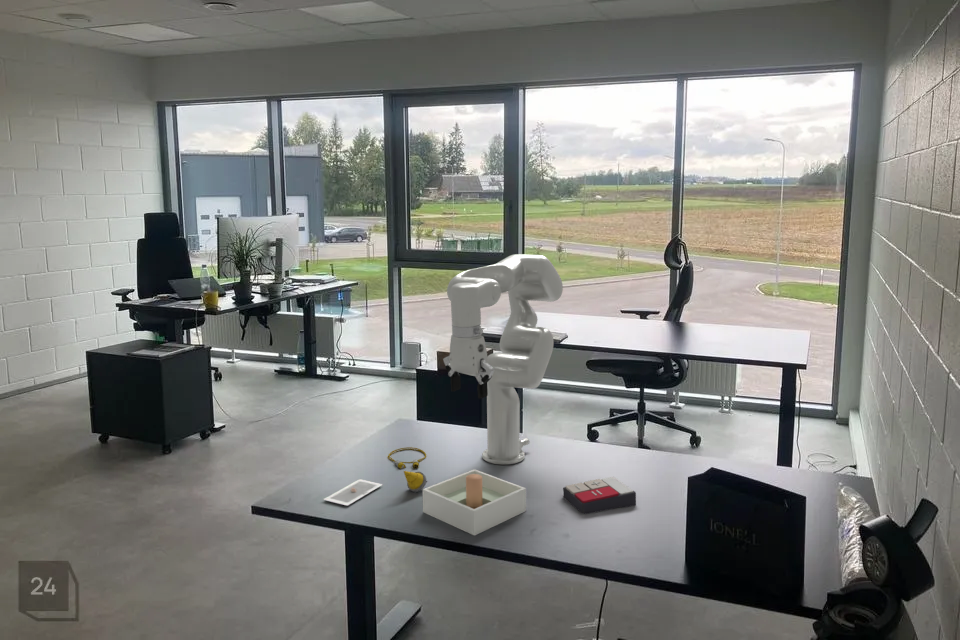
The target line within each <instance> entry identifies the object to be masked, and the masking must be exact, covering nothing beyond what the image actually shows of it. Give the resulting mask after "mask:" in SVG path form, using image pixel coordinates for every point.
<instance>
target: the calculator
mask: <svg viewBox="0 0 960 640" xmlns="http://www.w3.org/2000/svg"><path fill="white" fill-rule="evenodd" d="M562 491H563V492H562V493H563V495H562V496H563V498H564V500H566V501H567V503H569V504H570V505H571V506H572V507H574V508H575V509H576V510H577V511H578V512H579V513H580V514H581V515H587V514H593V513H598V512H605V511H609V510H613V509H617V508H621V509H624V508H628V507H633V506H636V505H637V493H636V491H634V490H633V489H632V488H631V487H629V486H628V485H626V484H625V483H624V482H622V481H621V480H619V479H618V478H616V477H615V476H609V477H605V478H601V479H600V478H597V479H596V478H595V479H592V480H588V481H584V482H578V483H574V484H573V483H572V484H568V485H565V486H564V487H563V489H562Z"/></svg>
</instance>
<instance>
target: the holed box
mask: <svg viewBox="0 0 960 640" xmlns="http://www.w3.org/2000/svg"><path fill="white" fill-rule="evenodd" d="M470 474H478V475H481V476H482V500H483V505H482V506H480V507H478V508H476V509H473V508H470V507H468V506H466V476H468V475H470ZM526 511H527V488H526V487H525V486H521V485H518V484H516V483H513V482H510V481H507V480H505V479H502V478H499V477H498V476H497V477H496V476H494V475H492V474H488V473H487V472H483V471H481V470H477V469H471V470H469V471H466V472H464V473H461V474H458V475H456V476H453V477H450V478H448V479H446V480H443V481H440V482H438V483H435V484H432V485H430V486H427V487H424V488H423V489H422V513H424V514H425V515H428V516H431V517H433V518H436V520H439V521H441V522H443V523H446V524H448V525H450V526H452V527H454V528H457V529H459V530H461V531H464V532H465V533H468V534H470V535H472V536H477V535H479V534H481V533H483V532H485V531H487V530H489V529H491V528H493V527H496V526H498V525H501V524H502V523H504V522H506V521H509V520H510V519H512V518H514V517H516V516H518V515H521V514H523V513H525V512H526Z"/></svg>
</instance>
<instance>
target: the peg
mask: <svg viewBox="0 0 960 640" xmlns="http://www.w3.org/2000/svg"><path fill="white" fill-rule="evenodd" d="M482 505H483V500H482V476H481V475H478V474H470V475H468V476H466V506H468V507H470V508H473V509H476V508H478V507H480V506H482Z"/></svg>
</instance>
